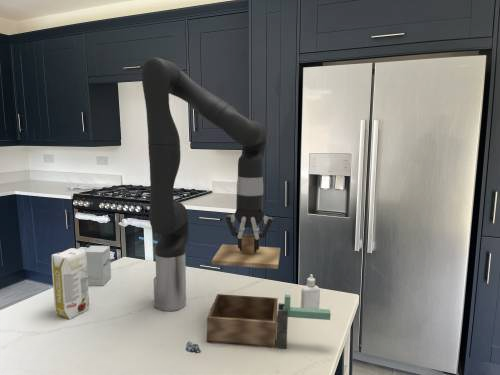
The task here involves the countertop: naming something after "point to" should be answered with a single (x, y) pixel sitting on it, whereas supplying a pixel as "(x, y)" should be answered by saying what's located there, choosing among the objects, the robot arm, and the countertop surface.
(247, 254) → the lid
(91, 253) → the supplement box
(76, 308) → the juice carton
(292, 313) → the green bar
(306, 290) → the eye dropper bottle
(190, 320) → the countertop surface
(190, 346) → the blueberries
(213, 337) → the wooden box
